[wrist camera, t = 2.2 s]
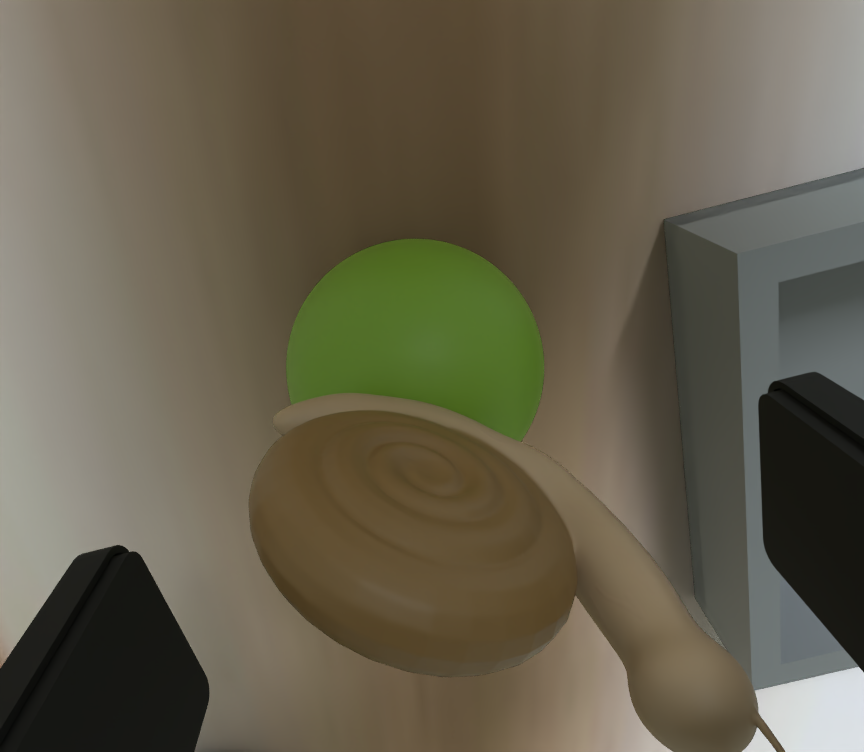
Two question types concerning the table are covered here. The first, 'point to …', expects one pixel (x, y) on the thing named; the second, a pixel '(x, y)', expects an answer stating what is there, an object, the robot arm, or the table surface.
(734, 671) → the snail figurine
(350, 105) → the table surface
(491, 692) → the table surface
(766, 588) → the bin
